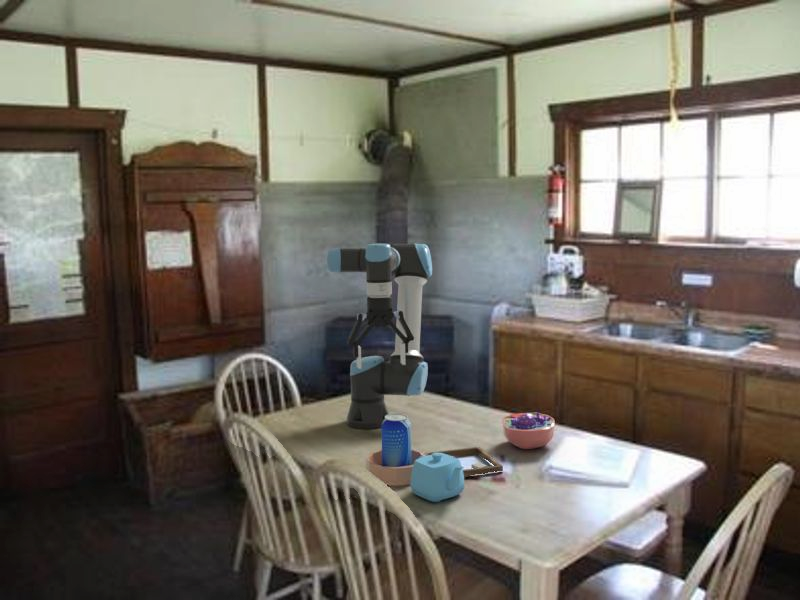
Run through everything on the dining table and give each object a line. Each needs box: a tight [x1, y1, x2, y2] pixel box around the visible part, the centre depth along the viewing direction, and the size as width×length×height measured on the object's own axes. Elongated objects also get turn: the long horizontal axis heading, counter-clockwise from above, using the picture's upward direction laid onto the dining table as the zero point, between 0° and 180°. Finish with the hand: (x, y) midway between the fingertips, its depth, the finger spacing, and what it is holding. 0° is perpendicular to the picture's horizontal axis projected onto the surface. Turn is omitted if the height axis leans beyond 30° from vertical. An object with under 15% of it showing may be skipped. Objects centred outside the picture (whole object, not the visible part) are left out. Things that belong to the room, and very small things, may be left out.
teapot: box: [410, 453, 466, 503], centre depth 203 cm, size 12×18×12 cm
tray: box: [423, 446, 504, 479], centre depth 225 cm, size 18×18×2 cm
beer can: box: [381, 413, 412, 467], centre depth 219 cm, size 8×8×16 cm
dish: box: [365, 448, 426, 487], centre depth 220 cm, size 18×18×5 cm
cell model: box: [501, 411, 556, 450], centre depth 241 cm, size 17×20×11 cm
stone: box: [471, 461, 488, 469], centre depth 221 cm, size 4×3×2 cm
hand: (381, 366), depth 230 cm, fingers open, 13 cm apart
